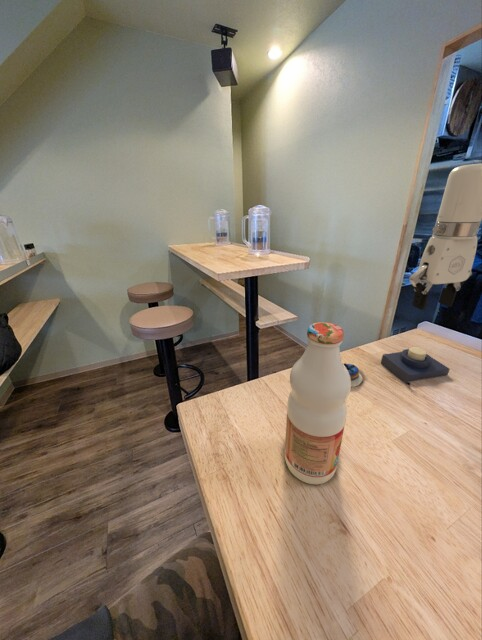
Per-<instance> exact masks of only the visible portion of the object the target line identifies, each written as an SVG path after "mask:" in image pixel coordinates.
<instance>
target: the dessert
mask: <svg viewBox="0 0 482 640" xmlns="http://www.w3.org/2000/svg"><path fill="white" fill-rule="evenodd" d="M343 365H344V366H345V367H346V369H347V370H348V372H349V374H350V378H351V388H355V387H357V386H359V385H360V384H361V383H362V382H363V376H362V374H361V373H360V370H359V367H357V365H355V364H352V363H346V362H344V363H343Z"/></svg>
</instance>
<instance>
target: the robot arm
mask: <svg viewBox="0 0 482 640" xmlns="http://www.w3.org/2000/svg"><path fill="white" fill-rule="evenodd" d="M481 223H482V163H472V164H471V163H470V164H464V165H459V166H456V167H454V168H453V169H452V170H451V171H450V172H449V174H448V177H447V181H446V184H445V187H444V192H443V195H442V199H441V203H440V206H439V210H438V213H437V217H436V221H435V224H434V226H433V227H432V229H431V231H432V235H431V236H430V237H429V239H428V241H427V244H426V246H425V248H424V251H423V252H422V256H421V258H420V262H419V264H418V265H419V266H418V268H417V269H416V270H415V272H414V273H412V274H411V275H410V276H409V277H408V280H409V282H410V285H411V286H412V288H413V291H414V292H415V293H414V297H413V301H412V307H414V308H417V309H418V310H420V311H421V310H422V311H425V309H426V308H427V307H426V306H427V303H428V300H429V295H430V294H429V293H428V292H429V291H430V290H431V288H432V287H433V285H444V287H442V289H441V293H440V295H439V299H438V303H439V304H440V305H444V306H446V307H453V304H454V301H455V298H456V296H457V292H458V291H460V290H461V287H462V285H464V284H465V283H466V281H467V280H468V279H469V278H470V277H471V276H472V275H473V271H472V269H473V266H474V261H475V257H476V254H477V248H478V236H477V234H478V232H479V228H480V226H481ZM425 283H426V284H425ZM424 284H425V285H424Z"/></svg>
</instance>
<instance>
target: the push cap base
mask: <svg viewBox="0 0 482 640" xmlns="http://www.w3.org/2000/svg"><path fill="white" fill-rule="evenodd" d="M408 351H409V348H406V349H403V350H401V351H397V352H392V353H384V354H382V356H381V360H380V365H382V366H383V367H384V368H385V369H386V370H387V371H389V372H390V373H391V374H392V375H394V376H395V377H396V378H397V379H399V380H400V381H401V382H402V383H403V384H405V386H410V385H411V383H410V382H416V381H423V380H427V379H433V378H439V377H446V376H448V375H449V372H450V370H451V368H449V367H448V366H447V365H445V364H444V363H441V362H440V361H438V360H437V359H435V358H433V356H431V355H429V354H428V353H427V354H426V357H425V360H423V361H419V360H414V359H412V358H410V357H408Z"/></svg>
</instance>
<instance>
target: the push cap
mask: <svg viewBox="0 0 482 640" xmlns="http://www.w3.org/2000/svg"><path fill="white" fill-rule="evenodd" d="M408 349H409V351H408V357H410V358H412V359H414V360H419V361H423V360H425V357H426V354H428V352H427V350H426V349H424V348H423V347H418V346H411V347H409V348H408Z"/></svg>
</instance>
